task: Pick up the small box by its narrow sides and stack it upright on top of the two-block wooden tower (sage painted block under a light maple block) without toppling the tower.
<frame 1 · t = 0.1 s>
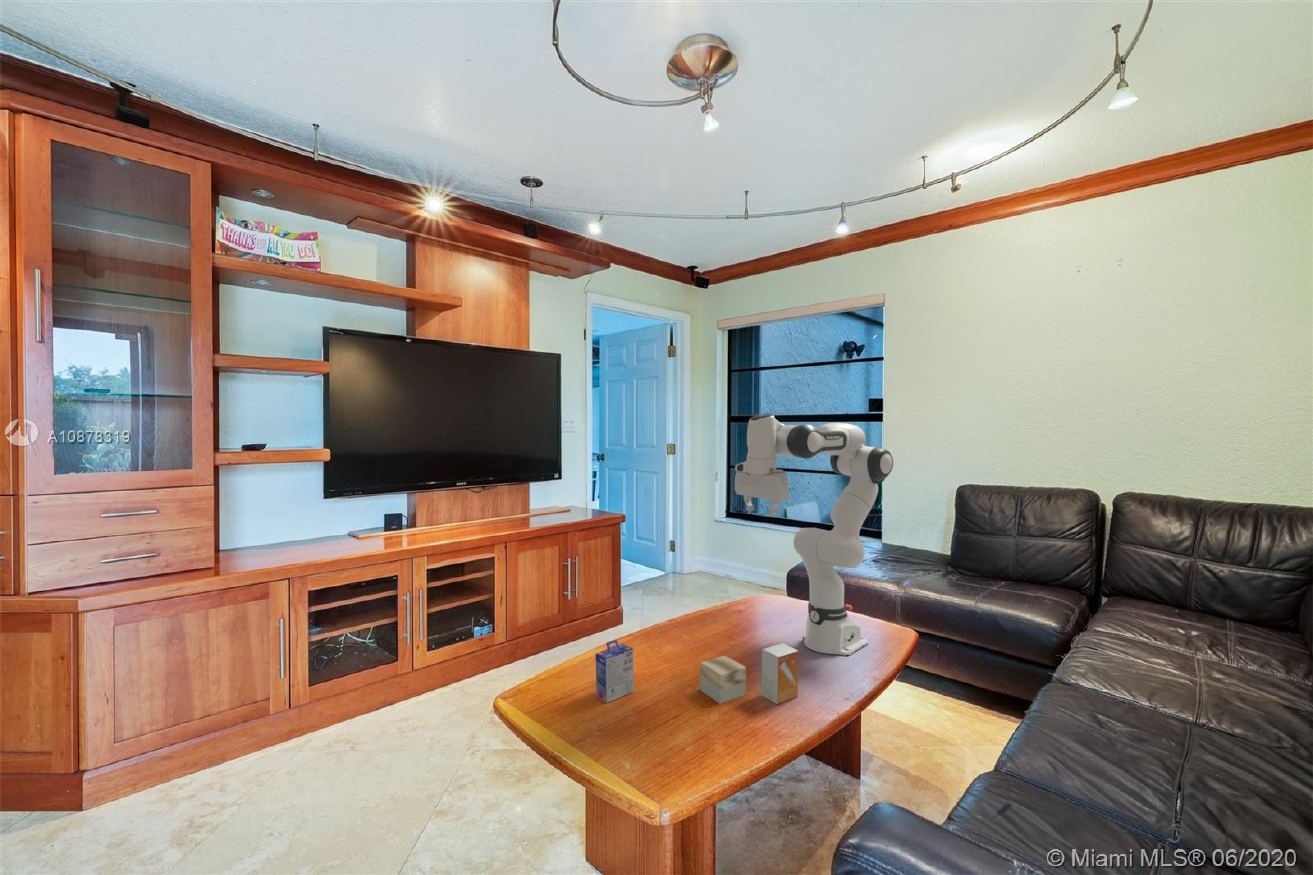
hand: (760, 512, 167), 48 cm above the table, fingers open, 8 cm apart
tower base block: (722, 693, 153), on the table, touching tower top block
tower top block: (722, 679, 153), point 4 cm above the table, touching tower base block
small box: (779, 696, 151), on the table
ink cartridge box: (614, 694, 152), on the table
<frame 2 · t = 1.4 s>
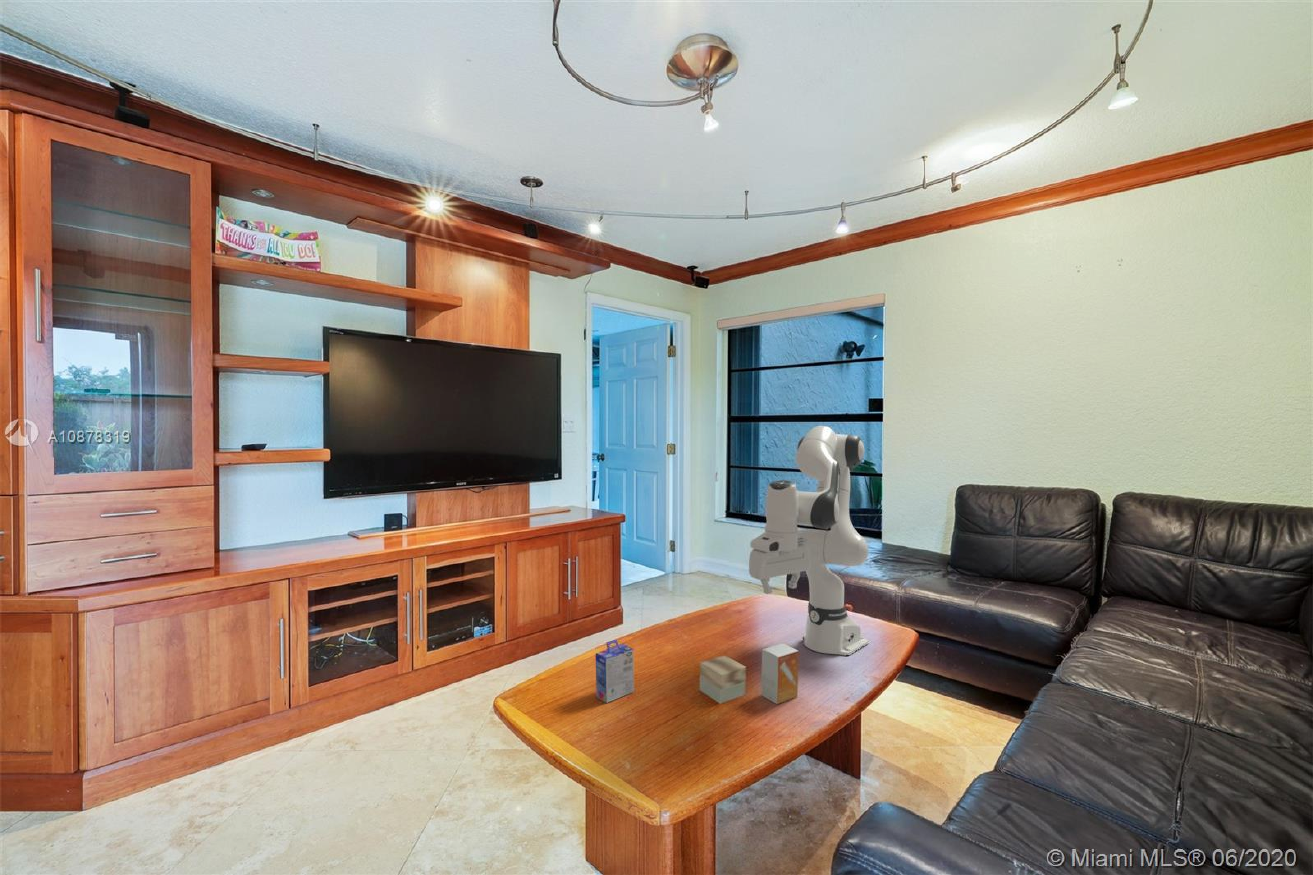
hand: (780, 590, 150), 29 cm above the table, fingers open, 8 cm apart
nothing on the table moved.
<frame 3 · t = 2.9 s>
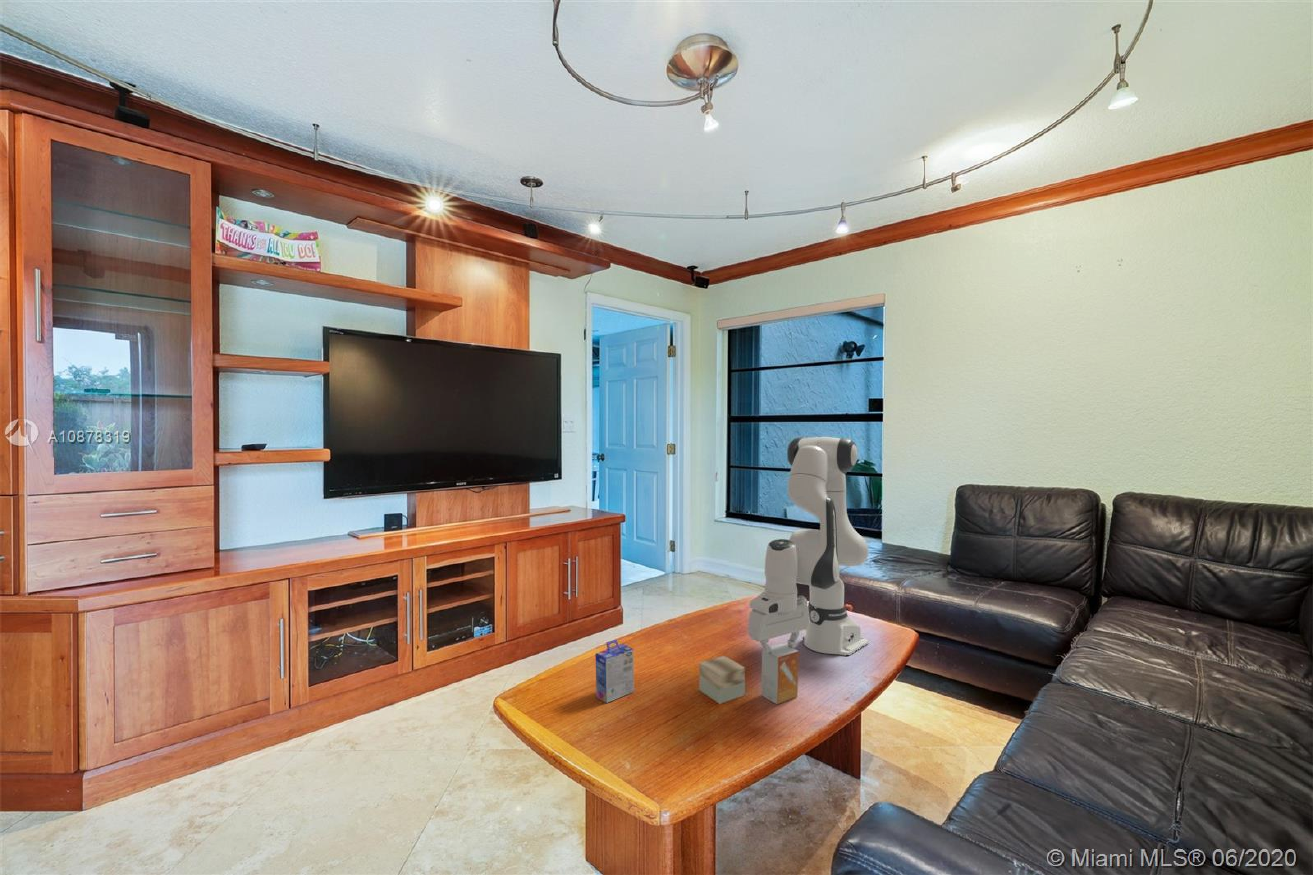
hand: (779, 650, 150), 13 cm above the table, fingers open, 8 cm apart
tower base block: (721, 693, 153), on the table
tower top block: (721, 679, 153), point 4 cm above the table
small box: (779, 696, 151), on the table, touching gripper
everything else where it was.
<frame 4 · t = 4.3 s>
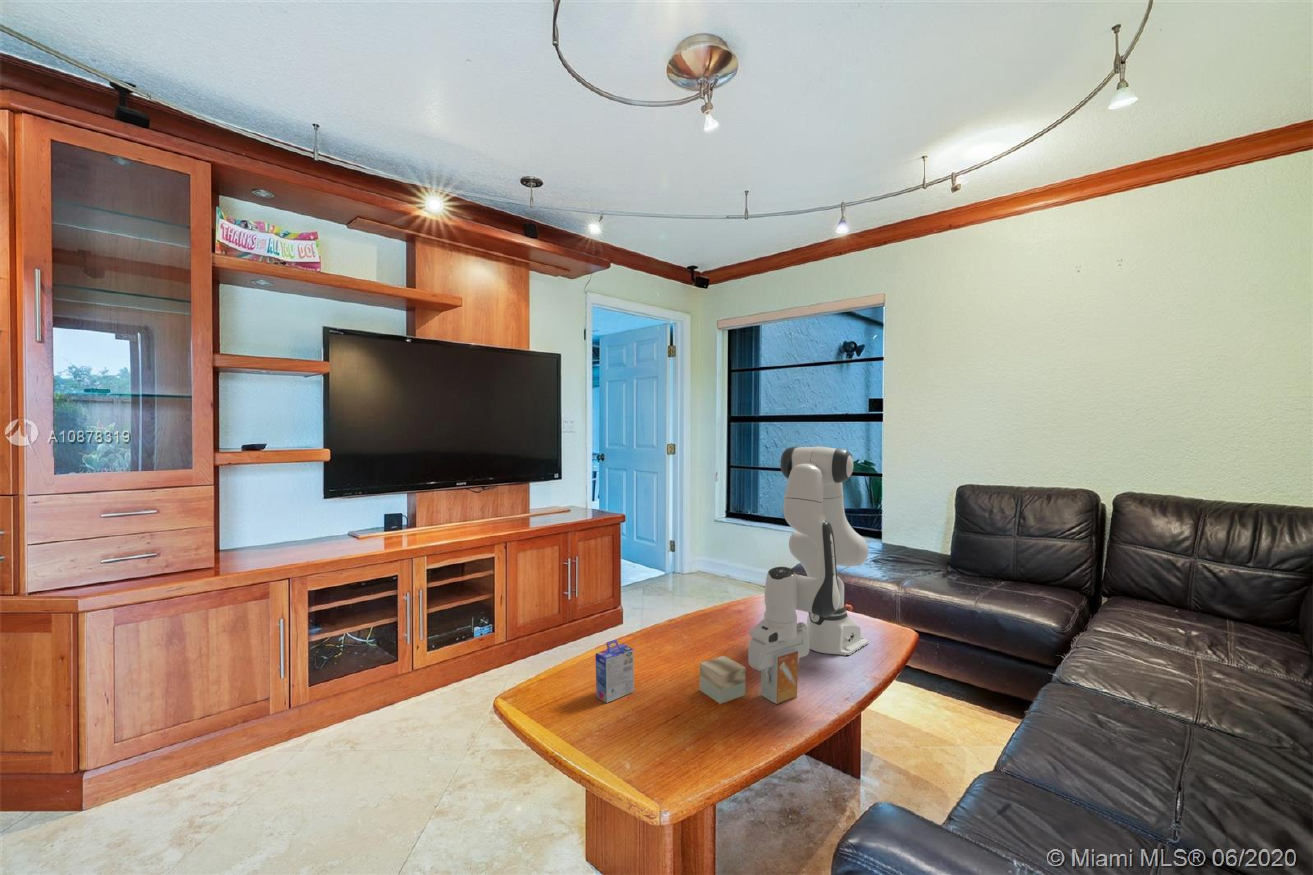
hand: (779, 677, 151), 5 cm above the table, fingers closed on small box, 8 cm apart
tower base block: (722, 693, 153), on the table, touching tower top block
tower top block: (722, 679, 153), point 4 cm above the table, touching tower base block
small box: (779, 696, 151), on the table, touching gripper
everything else where it was.
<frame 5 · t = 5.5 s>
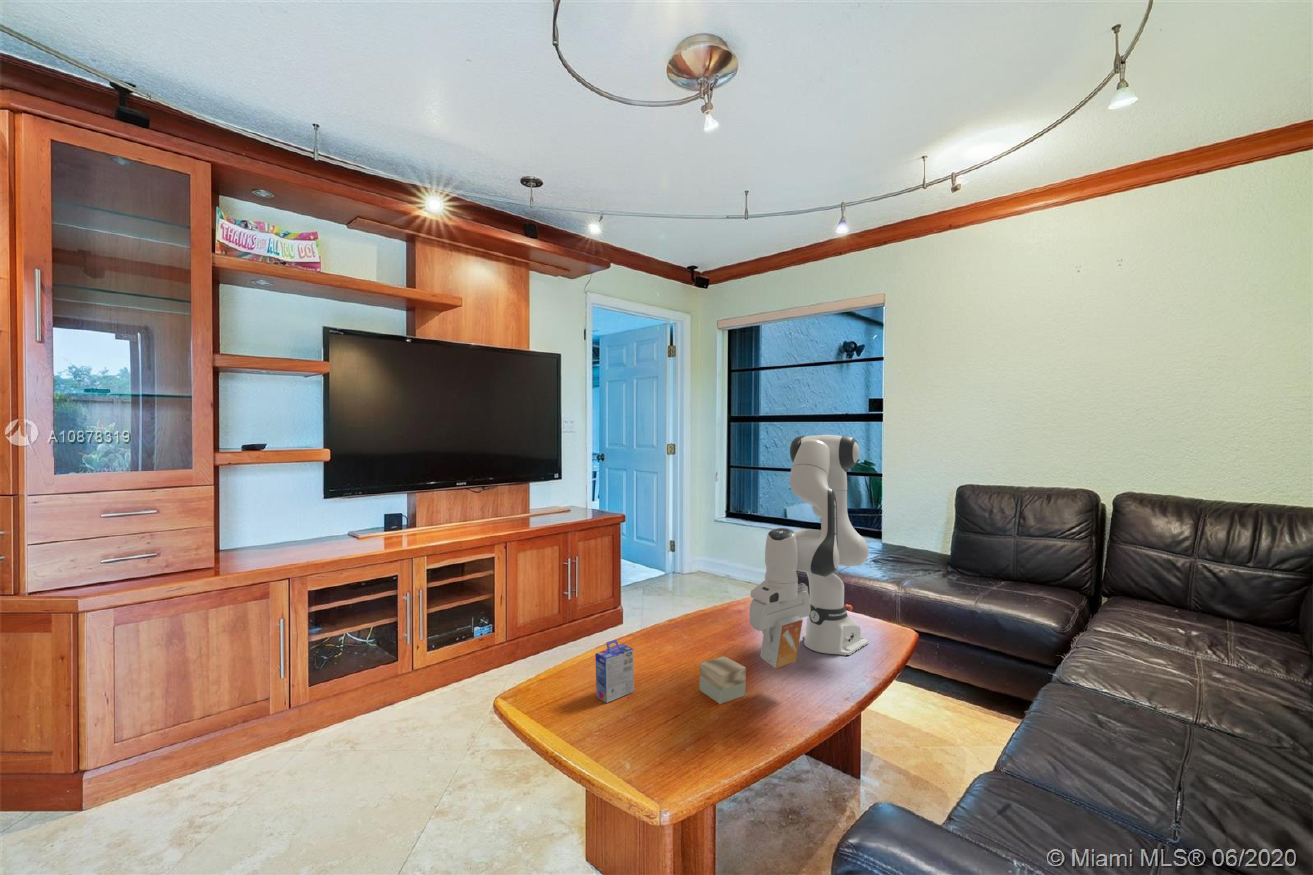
hand: (781, 638, 151), 16 cm above the table, fingers closed on small box, 8 cm apart
small box: (778, 659, 152), point 9 cm above the table, touching gripper
everything else where it was.
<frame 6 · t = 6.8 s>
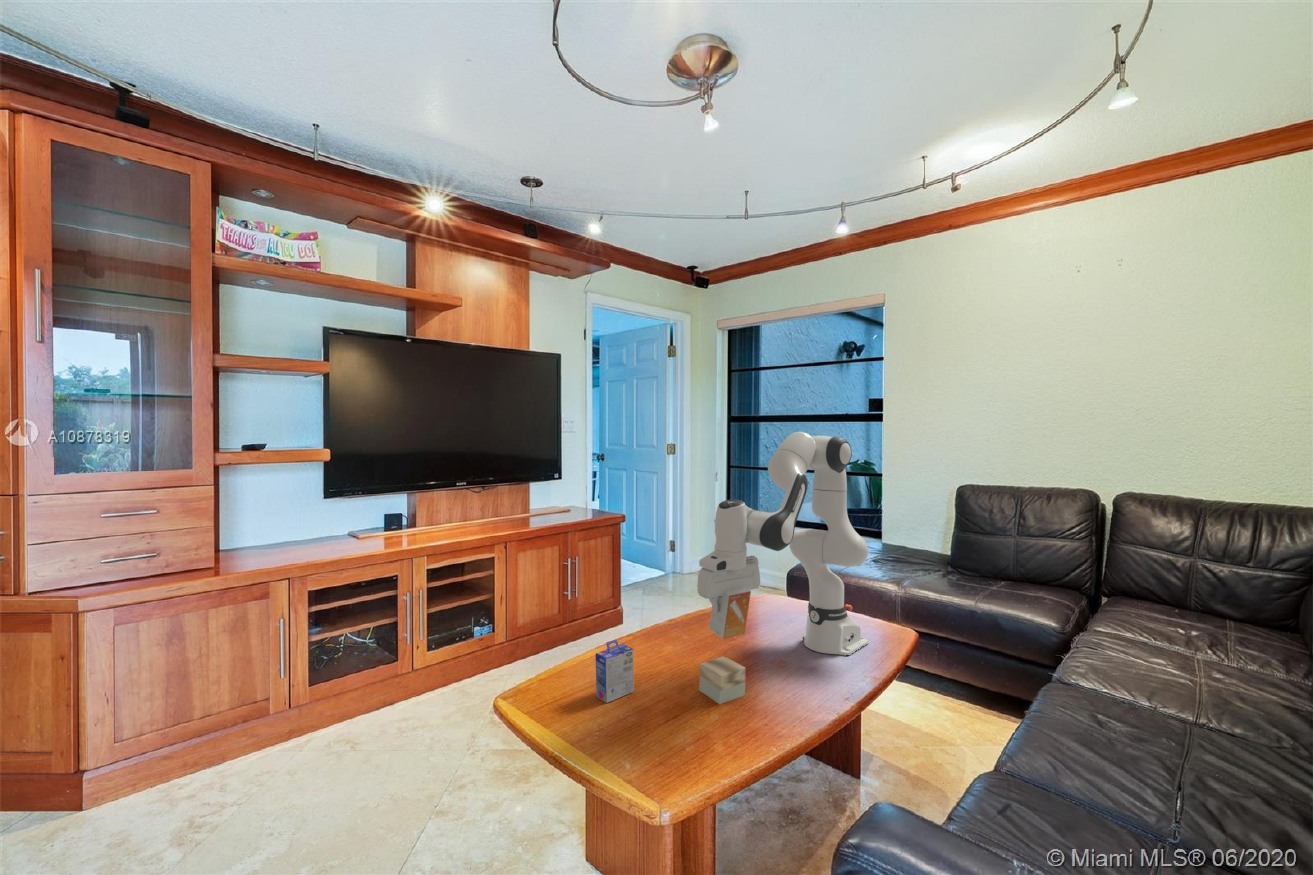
hand: (729, 608, 152), 24 cm above the table, fingers closed on small box, 8 cm apart
tower base block: (722, 694, 153), on the table
tower top block: (722, 679, 153), point 4 cm above the table
small box: (726, 632, 153), point 17 cm above the table, touching gripper
everything else where it was.
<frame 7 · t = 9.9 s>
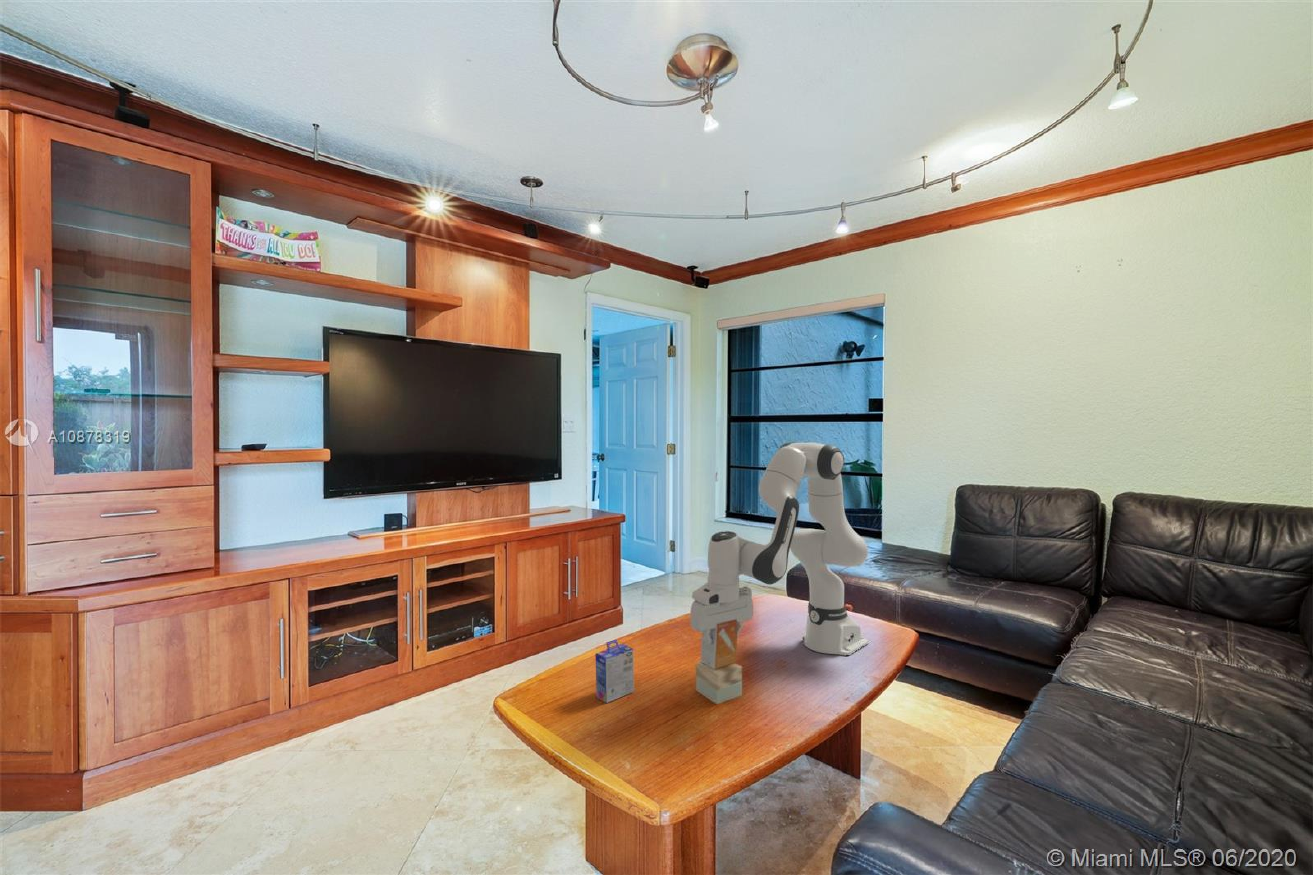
hand: (722, 640, 153), 15 cm above the table, fingers closed on small box, 8 cm apart
tower base block: (718, 693, 153), on the table, touching tower top block
tower top block: (718, 679, 153), point 4 cm above the table, touching small box, tower base block
small box: (718, 663, 154), point 8 cm above the table, touching gripper, tower top block
everything else where it was.
when the fingers open (15 cm above the table, at t = 9.9 s): small box moves 2 cm, resting on tower top block.
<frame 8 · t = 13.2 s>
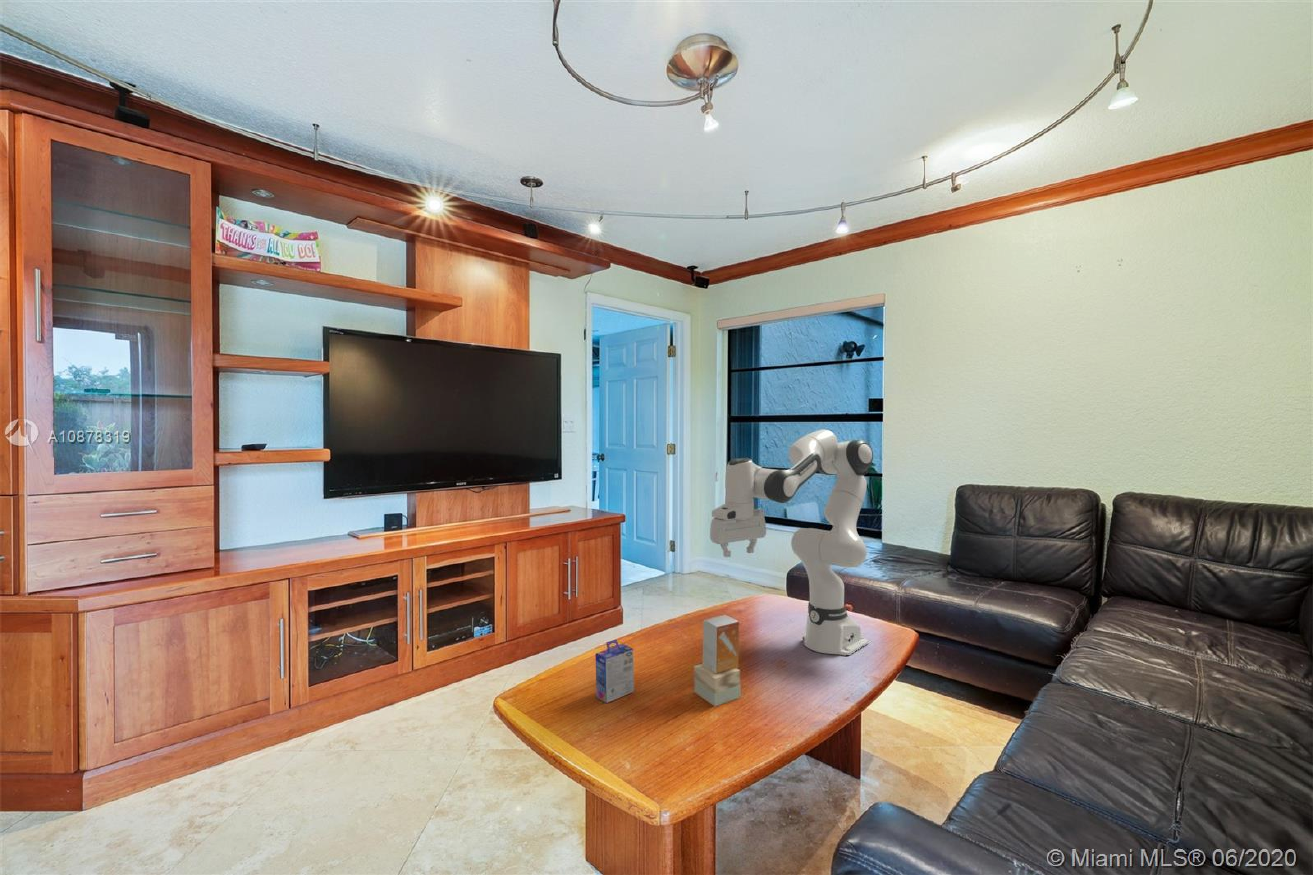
hand: (738, 554, 171), 34 cm above the table, fingers open, 8 cm apart
tower base block: (717, 696, 152), on the table, touching tower top block
tower top block: (716, 682, 151), point 3 cm above the table, touching small box, tower base block
small box: (720, 667, 152), point 7 cm above the table, touching tower top block
everything else where it was.
at the end: small box inside the target area on the tower top block (1.5 cm from its centre), point 3.8 cm above the tower top block's base; small box tilted 1°; tower top block moved 2.6 cm from its start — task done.
